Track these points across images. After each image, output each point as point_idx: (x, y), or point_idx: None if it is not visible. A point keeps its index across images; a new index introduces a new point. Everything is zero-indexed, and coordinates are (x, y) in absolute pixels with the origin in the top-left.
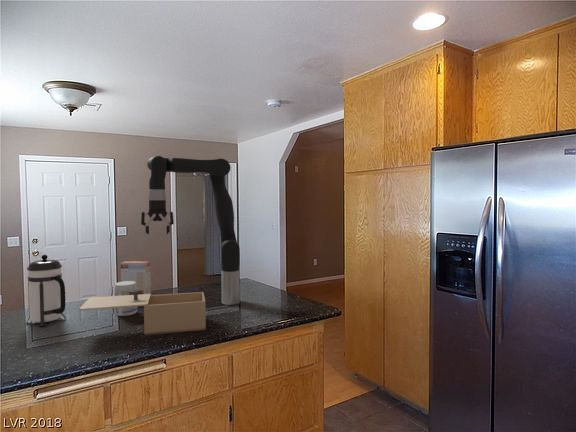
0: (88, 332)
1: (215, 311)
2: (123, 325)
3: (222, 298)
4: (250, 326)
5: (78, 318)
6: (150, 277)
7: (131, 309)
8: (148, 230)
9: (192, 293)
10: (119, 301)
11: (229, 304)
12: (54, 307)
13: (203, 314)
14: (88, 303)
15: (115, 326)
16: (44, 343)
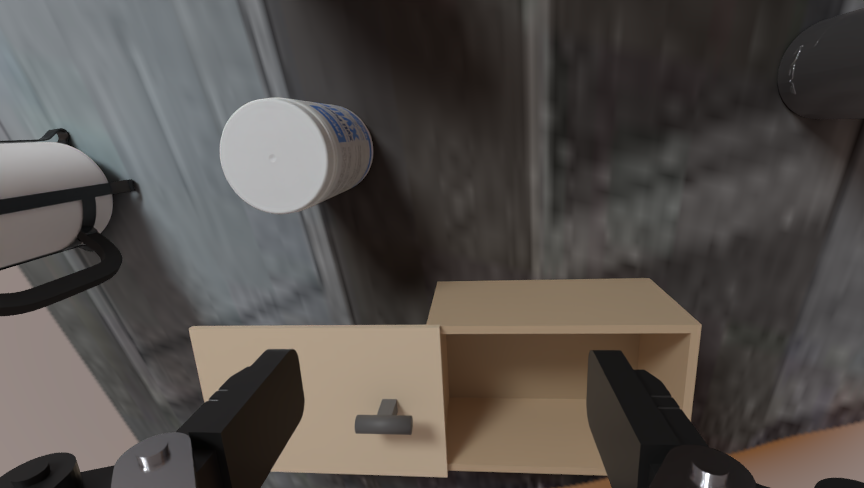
0: None
1: (714, 205)
2: (358, 292)
3: (798, 87)
4: (805, 411)
5: (172, 173)
6: None
7: (353, 185)
8: (274, 457)
9: (641, 331)
10: (330, 416)
11: (811, 118)
12: (70, 236)
13: None
14: None
15: (334, 295)
16: (184, 385)
